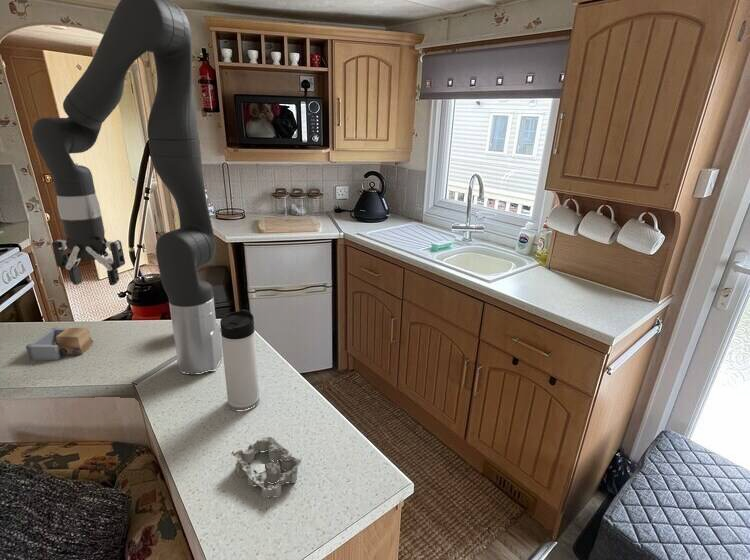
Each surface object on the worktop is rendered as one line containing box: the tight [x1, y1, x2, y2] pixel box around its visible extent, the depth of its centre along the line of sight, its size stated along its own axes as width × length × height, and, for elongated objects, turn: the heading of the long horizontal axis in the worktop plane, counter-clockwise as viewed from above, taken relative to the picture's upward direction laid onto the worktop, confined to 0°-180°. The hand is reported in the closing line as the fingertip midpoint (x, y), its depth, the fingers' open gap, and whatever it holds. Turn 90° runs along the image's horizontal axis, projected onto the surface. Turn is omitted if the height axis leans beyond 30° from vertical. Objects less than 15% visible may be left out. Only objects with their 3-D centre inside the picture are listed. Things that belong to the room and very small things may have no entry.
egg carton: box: [230, 436, 302, 499], centre depth 70 cm, size 11×8×4 cm
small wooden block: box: [56, 327, 94, 356], centre depth 103 cm, size 5×6×5 cm
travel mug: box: [219, 308, 260, 411], centre depth 84 cm, size 6×7×20 cm
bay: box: [25, 327, 68, 361], centre depth 103 cm, size 6×10×4 cm
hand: (95, 283), depth 98 cm, fingers open, 7 cm apart
